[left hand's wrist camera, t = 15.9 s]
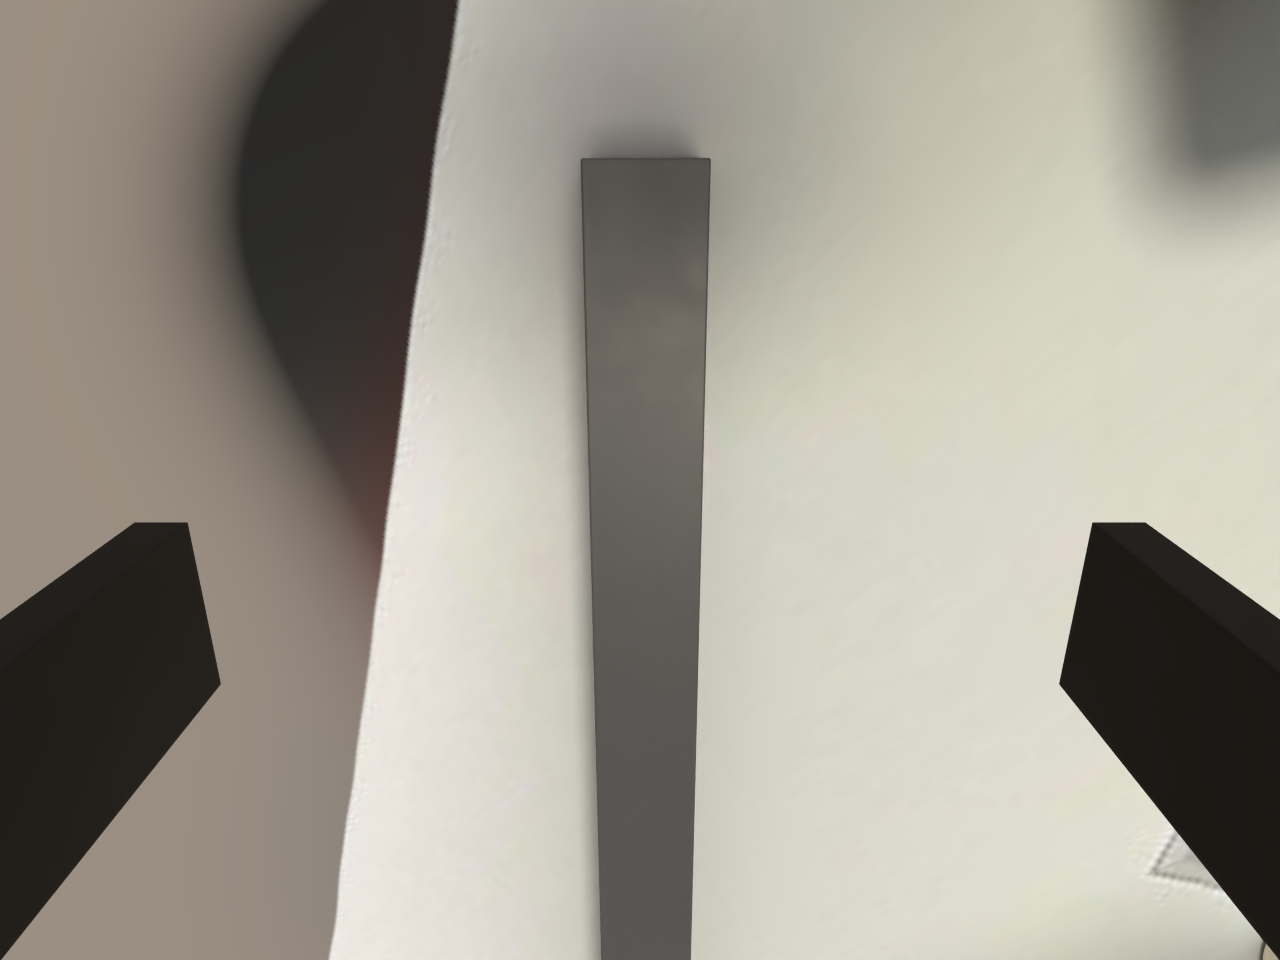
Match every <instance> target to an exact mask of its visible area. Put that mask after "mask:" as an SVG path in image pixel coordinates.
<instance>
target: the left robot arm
mask: <svg viewBox="0 0 1280 960" xmlns="http://www.w3.org/2000/svg"><path fill="white" fill-rule="evenodd" d="M220 684H221V683H220V678H219V673H218V668H217V663H216V658H215V653H214V649H213V644H212V639H211V634H210V629H209V624H208V620H207V615H206V610H205V605H204V600H203V595H202V590H201V586H200V581H199V576H198V571H197V566H196V561H195V556H194V552H193V547H192V542H191V537H190V532H189V527H188V523H133V524H132V525H131V526H129V527H128V528H126V529H125V530H124V531H122V532H121V533H120V534H118V535H117V536H115V537H114V538H113V539H111V540H110V541H109V542H107V543H106V544H104V545H103V546H102V547H100V548H99V549H97V550H96V551H95V552H93V553H92V554H90V555H89V556H88V557H86V558H85V559H84V560H82V561H81V562H79V563H78V564H77V565H75V566H74V567H72V568H71V569H70V570H68V571H67V572H66V573H64V574H63V575H61V576H60V577H59V578H57V579H56V580H54V581H53V582H52V583H50V584H49V585H47V586H46V587H45V588H43V589H42V590H41V591H39V592H38V593H36V594H35V595H34V596H32V597H31V598H29V599H28V600H27V601H25V602H24V603H23V604H21V605H20V606H18V607H17V608H16V609H14V610H13V611H11V612H10V613H9V614H7V615H6V616H5V617H3V618H2V619H0V960H1V959H2V958H3V957H4V955H5V954H6V953H7V952H8V950H9V949H10V948H11V947H12V945H13V944H14V943H15V942H16V940H17V939H18V938H19V937H20V935H21V934H22V933H23V932H24V930H25V929H26V928H27V927H28V925H29V924H30V923H31V922H32V920H33V919H34V918H35V917H36V915H37V914H38V913H39V912H40V910H41V909H42V908H43V907H44V905H45V904H46V903H47V901H48V900H49V899H50V898H51V896H52V895H53V894H54V893H55V892H56V890H57V889H58V888H59V886H60V885H61V884H62V883H63V881H64V880H65V879H66V878H67V876H68V875H69V874H70V873H71V871H72V870H73V869H74V868H75V866H76V865H77V864H78V863H79V861H80V860H81V859H82V858H83V856H84V855H85V854H86V853H87V851H88V850H89V849H90V848H91V846H92V845H93V844H94V843H95V841H96V840H97V839H98V838H99V836H100V835H101V834H102V833H103V831H104V830H105V829H106V827H107V826H108V825H109V824H110V822H111V821H112V820H113V819H114V817H115V816H116V815H117V814H118V812H119V811H120V810H121V809H122V807H123V806H124V805H125V804H126V802H127V801H128V800H129V799H130V797H131V796H132V795H133V794H134V792H135V791H136V790H137V789H138V787H139V786H140V785H141V784H142V782H143V781H144V780H145V779H146V777H147V776H148V775H149V774H150V772H151V771H152V770H153V769H154V767H155V766H156V765H157V763H158V762H159V761H160V760H161V758H162V757H163V756H164V755H165V753H166V752H167V751H168V750H169V748H170V747H171V746H172V745H173V743H174V742H175V741H176V740H177V738H178V737H179V736H180V735H181V733H182V732H183V731H184V730H185V728H186V727H187V726H188V725H189V723H190V722H191V721H192V720H193V718H194V717H195V716H196V715H197V713H198V712H199V711H200V709H201V708H202V707H203V706H204V705H205V703H206V702H207V701H208V700H209V698H210V697H211V696H212V695H213V693H214V692H215V691H216V689H217V688H218V687H219V686H220ZM1059 684H1060V686H1061V687H1062V688H1063V689H1064V691H1065V692H1066V693H1067V695H1068V696H1069V697H1070V698H1071V700H1072V701H1073V702H1074V703H1075V705H1076V706H1077V707H1078V708H1079V710H1080V711H1081V712H1082V713H1083V715H1084V716H1085V717H1086V718H1087V720H1088V721H1089V722H1090V723H1091V725H1092V726H1093V727H1094V728H1095V730H1096V731H1097V732H1098V733H1099V735H1100V736H1101V737H1102V738H1103V740H1104V741H1105V742H1106V743H1107V745H1108V746H1109V747H1110V748H1111V750H1112V751H1113V752H1114V753H1115V755H1116V756H1117V757H1118V759H1119V760H1120V761H1121V762H1122V764H1123V765H1124V766H1125V767H1126V769H1127V770H1128V771H1129V772H1130V774H1131V775H1132V776H1133V777H1134V779H1135V780H1136V781H1137V782H1138V784H1139V785H1140V786H1141V787H1142V789H1143V790H1144V791H1145V792H1146V794H1147V795H1148V796H1149V797H1150V799H1151V800H1152V801H1153V802H1154V804H1155V805H1156V806H1157V807H1158V809H1159V810H1160V811H1161V812H1162V814H1163V815H1164V816H1165V817H1166V819H1167V820H1168V821H1169V823H1170V824H1171V825H1172V826H1173V828H1174V829H1175V830H1176V831H1177V833H1178V834H1179V835H1180V836H1181V838H1182V839H1183V840H1184V841H1185V843H1186V844H1187V845H1188V846H1189V848H1190V849H1191V850H1192V851H1193V853H1194V854H1195V855H1196V856H1197V858H1198V859H1199V860H1200V861H1201V863H1202V864H1203V865H1204V866H1205V868H1206V869H1207V870H1208V871H1209V873H1210V874H1211V875H1212V876H1213V878H1214V879H1215V880H1216V881H1217V883H1218V884H1219V885H1220V886H1221V888H1222V889H1223V890H1224V892H1225V893H1226V894H1227V895H1228V897H1229V898H1230V899H1231V900H1232V902H1233V903H1234V904H1235V905H1236V907H1237V908H1238V909H1239V910H1240V912H1241V913H1242V914H1243V915H1244V917H1245V918H1246V919H1247V920H1248V922H1249V923H1250V924H1251V925H1252V927H1253V928H1254V929H1255V930H1256V932H1257V933H1258V934H1259V935H1260V937H1261V938H1262V939H1263V940H1264V942H1265V943H1266V944H1267V945H1268V947H1269V948H1270V949H1271V950H1272V952H1273V953H1274V954H1275V956H1276V957H1277V958H1278V959H1279V960H1280V619H1278V618H1277V617H1276V616H1274V615H1273V614H1271V613H1270V612H1269V611H1267V610H1266V609H1264V608H1263V607H1262V606H1260V605H1259V604H1258V603H1256V602H1255V601H1253V600H1252V599H1251V598H1249V597H1248V596H1246V595H1245V594H1244V593H1242V592H1241V591H1239V590H1238V589H1237V588H1235V587H1234V586H1233V585H1231V584H1230V583H1228V582H1227V581H1226V580H1224V579H1223V578H1221V577H1220V576H1219V575H1217V574H1216V573H1215V572H1213V571H1212V570H1210V569H1209V568H1208V567H1206V566H1205V565H1203V564H1202V563H1201V562H1199V561H1198V560H1197V559H1195V558H1194V557H1192V556H1191V555H1190V554H1188V553H1187V552H1185V551H1184V550H1183V549H1181V548H1180V547H1178V546H1177V545H1176V544H1174V543H1173V542H1172V541H1170V540H1169V539H1167V538H1166V537H1165V536H1163V535H1162V534H1160V533H1159V532H1158V531H1156V530H1155V529H1154V528H1152V527H1151V526H1149V525H1148V524H1147V523H1092V527H1091V532H1090V537H1089V542H1088V547H1087V552H1086V556H1085V561H1084V566H1083V571H1082V576H1081V581H1080V586H1079V590H1078V595H1077V600H1076V605H1075V610H1074V615H1073V620H1072V624H1071V629H1070V634H1069V639H1068V644H1067V649H1066V653H1065V658H1064V663H1063V668H1062V673H1061V678H1060V683H1059Z"/></svg>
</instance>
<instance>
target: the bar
mask: <svg viewBox="0 0 1280 960" xmlns="http://www.w3.org/2000/svg"><path fill="white" fill-rule="evenodd" d="M710 169H711V160H710V158H583V159H581V188H582V227H583V265H584V304H585V343H586V381H587V420H588V459H589V497H590V536H591V575H592V613H593V652H594V690H595V729H596V768H597V806H598V845H599V884H600V922H601V960H691V929H692V889H693V849H694V809H695V769H696V729H697V689H698V649H699V609H700V569H701V529H702V489H703V449H704V409H705V369H706V329H707V289H708V249H709V209H710Z"/></svg>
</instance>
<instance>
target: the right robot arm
mask: <svg viewBox="0 0 1280 960" xmlns="http://www.w3.org/2000/svg"><path fill="white" fill-rule="evenodd" d="M1263 960H1279V959H1278V958H1277V957H1276V956H1275V954H1274V953H1273V952H1272V950H1271V949H1270V948H1269V947H1268V945H1267V944H1266V945H1265V949H1264V953H1263Z"/></svg>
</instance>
